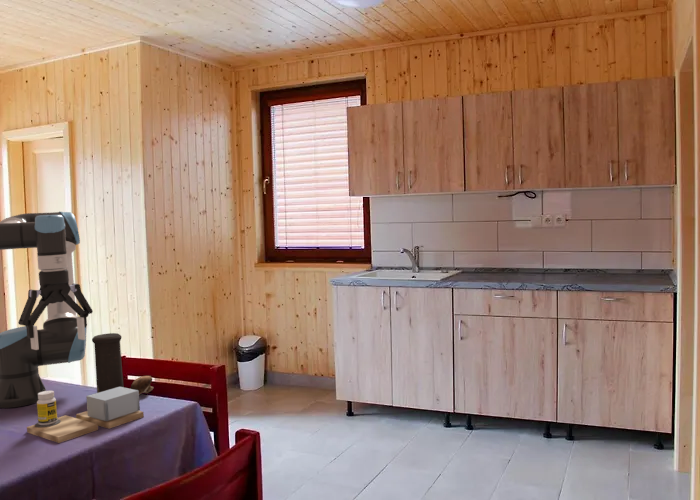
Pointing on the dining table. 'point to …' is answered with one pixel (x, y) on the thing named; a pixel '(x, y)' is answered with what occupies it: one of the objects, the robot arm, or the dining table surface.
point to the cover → (113, 403)
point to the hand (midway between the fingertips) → (59, 344)
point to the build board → (63, 429)
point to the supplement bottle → (46, 408)
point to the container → (108, 361)
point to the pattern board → (112, 422)
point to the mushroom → (142, 384)
